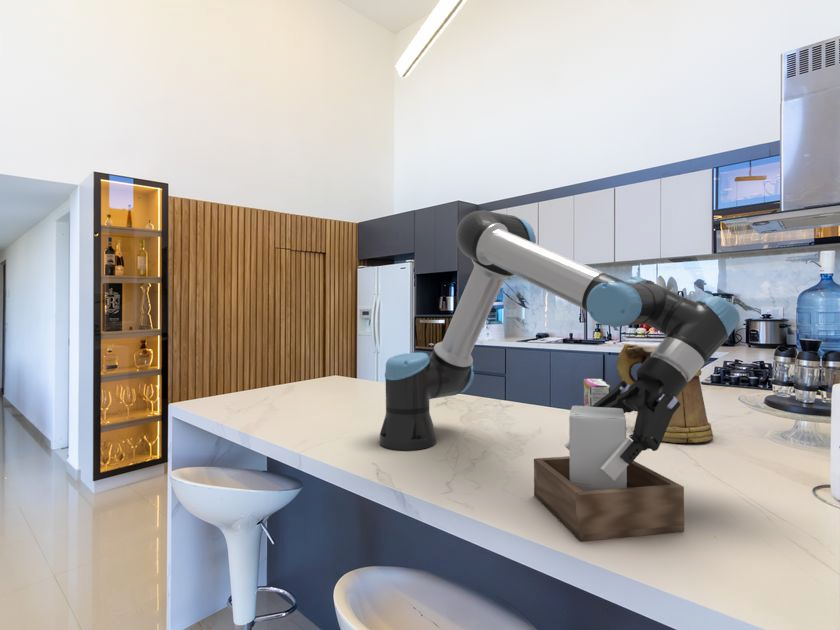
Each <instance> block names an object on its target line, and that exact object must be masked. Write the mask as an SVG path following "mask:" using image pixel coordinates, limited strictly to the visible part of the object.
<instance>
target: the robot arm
mask: <svg viewBox="0 0 840 630" xmlns="http://www.w3.org/2000/svg"><path fill="white" fill-rule="evenodd" d="M455 239H456V243H457V246H458V249H459V251H460V252H461V253H462V254H463V255H464V256H466V257H467V258H470V259H471V262H472V263H473V269H472V271H471V273H470V275H469V278H468V280H467V283H466V284H465V287H464V290H463V292H462V295H461V296H460V299H459V301H458V303H457V306H456V309H455V311H454V313H453V316H452V318H451V320H450V323H449V325H448V327H447V329H446V332H445V334H444V336H443V339H442V340H441V341H440V342H437V343H435V345H434V346H433V349H432V352H431V354H430V355H429V354H428V353H426V352H409V353H401V354H397V355H394V356H391V357H389V358H388V359H387V361H386V362H385V371H384V372H385V373H384V378H385V416H384V419H383V423H382V426H381V430H380V433H379V445H380V446H381V447H384V448H386V449H390V450H396V451H415V450H416V451H417V450H423V449H427V448H430V447H433V446H435V445H436V444H437V432H436V428H435V426H434V423H433V420H432V416H431V413H430V400H434V399H439V398H440V399H441V398H445V397H451V396H457V395H459V394H462V393H464V392H466V391H467V390H468V389H469V388H470V387H471V385H472V384H473V381H474V379H475V378H474V377H475V372H474V364H473V363H474V359H473V356H472V351H474V350H473V349H474V347H475V346H476V343H477V341H478V338H479V337H480V335H481V332H482V330H483V328H484V325H485V323H486V322H487V320H488V317H489V314H490V312H491V311H492V308H493V306H494V304H495V302H496V299H497V297H498V295H499V293H500V290H501V289H502V287H503V285H504V283H505V280H507V279H509V278H512V277H513V276H516V277H518V278H520V279H522V280H524V281H527V282H529V283H530V284H532V285H535V286H536V287H538V288H540V289H542V290H544V291H547V292H548V293H551V294H552V295H554V296H556V297H558V298H560V299H562V300H564V301H566V302H568V303H570V304H572V305H574V306H576V307H578V308H580V309H582V310H584V311H586V312H588V314H589V315H590V317H591V318H592V320H593V321H595V322H596V323H598V324H600V325H603V326H609V327H610V328H611V327H612V328H621V327H624V326H625V327H626V326H632V325H633V326H634V325H647V326H649V327H652V329H655V330H657V331H658V332H660V333H662V334H663V335H666V336H665V337H664V339H663V340H662V341H661V342H660V343H659V344H658V345H657V346H656V347H657V348H656V349H655V350H654V351H653V352H652V353H651V357H649V358H647V359H646V360H645V361H644V362H643V364H642V365H641V364H640V366H639V367H638V368H637V369H636V371H635V373H636V377H637V379H636V380H637V381H636V382H635V383H633V384H632V385H628V384H627V383H626V382H625V381H621V380H620V382H619V383H618V384H617V386H616V387H615V388H613V389H612V390H610V393H608V394H607V395H606V396H604V397H603V398H602V399H600V400H599V401H598V402H596V403H595V404H594V405H592V406H591V407H604V408H621V409H623V411H624V414H625V413H628V414H629V413H633V412H637V411H638V412H637V413H636V418H635V423H634V428H633V431H632V434H629V435H628V437H629V438H628V437H626V439H625V440H624V442H623V443H622V444H621V445H620V446H619V447H618V449H617V450H616V451H615V452H614V453H613V454H612V455H611V457H610V458H609V459H608V460H607V461H606V462H605V464H604V465H603V466H602V467H601V469H602V470H603V471H604V472H605V473H606V474H607V475H608V476H609V477H610V478H611V479H612V480H613V481H615V480H616V479H617V477H618V476H619V475H620V474H621V473H622V472H623V470H624V469H625V468H626V467H627V466H628V465H629V464H631V463H632V462H633V461H635V460H636V458H637V457H638V456H639V455H640V454H641V453H642V452H643V451H647V450H651V451H653V452H656V451H658V450H659V448H660V446H661V444H662V442H663V441H662V439H663V437H664V434H665V432H666V430H667V427H668V425H669V423H670V420H671V418H672V416H673V413H674V412H675V411H676V410H677V409H678V407H679V406H680V404H681V403H680V402H679V401H678V400H677V399H676V397H677V396H678V395H679V393H680V392H681V391H682V390H683V389H684V388H685V387H686V385H687V383H686V382H689V381H690V380H691V379H692V378H693V377H694V375H695V374H696V373H697V372H698V371H699V370H701V368H702V367H703V366H704V365H705V364H706V363H707V362H708V360H709V359H710V358H711V357H712V356H714V354H715V353H716V352H717V350H718V349H720V347H721V346H722V345H723V344H725V342H726V341H728V340H729V336H730V335H731V334H732V333H733V331H734V330H735V329H736V328H737V326H738V325H739V323H740V322H741V315H740V312H739V310H738V309H737V308H736V307H735V305H733V303H732V302H731V301H728V300H727V299H725V298H723V297H721V296H717V295H715V296H714V295H711V294H706V295H703V296H701V297H700V298H698V299H697V300H696V301H694V300H692V299H688V298H687V297H684V296H681V295H679V294H677V293H675V292H673V291H671V290H669V289H667V288H665V287H664V286H661V285H659V284H657V283H655V282H654V281H652V280H649V279H646V278H643V277H640V276H639V275H638V276H637V275H635V276H632V277H629V278H628V279H627V280H622V279H621V278H618V277H615V276H613V275H610V274H608V273H605V272H603V271H601V270H599V269H596V268H593V267H591V266H589V265H587V264H584V263H582V262H580V261H577V260H575V259H573V258H570V257H568V256H565V255H563V254H561V253H558V252H557V251H555V250H551V249H549V248H547V247H545V246H543V245H541V244H538V243H537V239H536V235H535V230H534V228H533V227H532V225H531V224H530V223H529V222H528V221H527V220H525V219H523V218H520V217H517V216H515V215H510V214H506V213H499V212H493V211H489V210H483V209H482V210H476V211H475V210H474V211H472V212H471V213H468V214H467V215H465V216H464V217H463V218H462V219H461V221H460V222H459V224H458V225H457V229H456V234H455ZM651 437H653V439H652V438H651ZM564 447H565V448H566V449H567V450H568V451H569V452H570V439H569V440H568V441H567V442H566V443H565V444H564Z"/></svg>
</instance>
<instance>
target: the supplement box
mask: <svg viewBox="0 0 840 630" xmlns="http://www.w3.org/2000/svg"><path fill="white" fill-rule="evenodd" d="M568 429H569V433H568V435H569V440H570V451H569V456H570V482H572V483H573V484H574V485H576V486H577V487H578V488H579V489H581V490H582V491H594V490H607V489H620V488H627V467H626V468H625V469H624V470H623V472H622V473H621V474H620V475H619V476H618V477H617V479H616V480H615V481H613V480H612V479H611V478H610V477H609V476H608V475H607V474H606V473H605V472H604V471H603V470H602V469H601V467H602V466H603V465H604V464H605V462H606V461H607V460H608V459H609V458H610V457H611V455H612V454H613V453H614V452H615V451H616V450H617V449H618V447H619V446H620V445H621V444H622V443H623V442H624V440H625V439H626V438H627V419H626V415H625V413H624V411H623V409H621V408H604V407H589V406H584V405H572V406H571V409H570V413H569V427H568Z"/></svg>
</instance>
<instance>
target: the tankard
mask: <svg viewBox="0 0 840 630" xmlns="http://www.w3.org/2000/svg"><path fill="white" fill-rule="evenodd" d="M656 348H657V346H642V345H639V344H638V345H637V344H630V343H624V344H623V347H622V349H621V350H620V351H619V354H618V356H617V362H616V369H617V373H618V377H619V379H620V382H621V381H625V382H626V383H627V384H628V385H632V384H633V383H635V382H636V381H637V379H635V378H634V376H633V375H632V368H633V367H634V365H636V364H637V365H638V364H640V366H641V365H642V364H643V362H644V361H645V360H646V359H647V358H649V357H651V353H652V352H653V351H654V350H655V349H656ZM700 376H702V371H701V369H700V370H699V371H698V372H697V373H696V374H695V375H694V377H693V378H692V379H691V380H690V381H689V382H686V383H687V385H686V387H685V388H684V389H683V390H682V391H681V392H680V393H679V395H678V396H677V397H676V399H677V400H678V401H679V402H680V403H681V404H680V406H679V407H678V409H677V410H676V411H675V412H674V413H673V416H672V418H671V420H670V423H669V425H668V427H667V430H666V432H665V434H664V437H663V439H662V441H661V442H667V443H676V444H678V443H679V444H686V443H687V444H690V443H691V444H694V443H695V444H696V443H703V442H708V441H711V440H713V439H714V435H713V430H712V425H711V423H709V421H708V416H707V412H706V410H707V409H706V406H705V402H704V397H703V391H702V390H703V389H702V386H701V381H700ZM636 412H637V413H638V411H636ZM651 438H652V439H653V437H651Z"/></svg>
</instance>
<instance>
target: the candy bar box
mask: <svg viewBox="0 0 840 630" xmlns="http://www.w3.org/2000/svg"><path fill="white" fill-rule="evenodd" d="M610 392H611V385H610V384H608V383H607V382H606V381H605V380H604V379H602V378H584V379H583V403H584V404H583V406H589V407H591V406H592V405H594V404H595V403H596V402H598V401H599V400H600V399H602V398H603V397H604V396H606V395H607V394H608V393H610Z"/></svg>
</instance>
